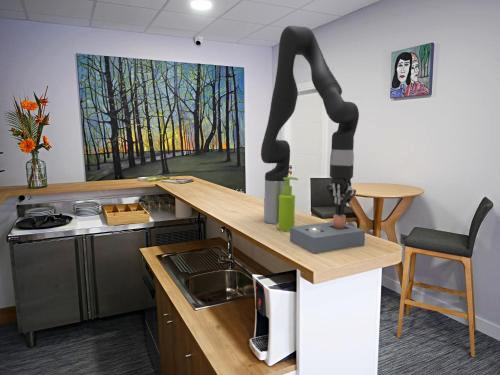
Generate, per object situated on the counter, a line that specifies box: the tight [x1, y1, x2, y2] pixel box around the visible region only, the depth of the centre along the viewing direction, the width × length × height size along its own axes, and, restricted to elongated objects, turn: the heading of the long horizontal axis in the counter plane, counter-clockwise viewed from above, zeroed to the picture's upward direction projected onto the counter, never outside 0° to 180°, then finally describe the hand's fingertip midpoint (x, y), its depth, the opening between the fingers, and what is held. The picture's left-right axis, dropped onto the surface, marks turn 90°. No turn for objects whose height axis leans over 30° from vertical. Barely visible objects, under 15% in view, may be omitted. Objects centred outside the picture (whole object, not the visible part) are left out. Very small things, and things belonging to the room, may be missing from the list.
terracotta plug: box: [332, 213, 347, 230], centre depth 126 cm, size 4×4×5 cm
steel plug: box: [308, 226, 321, 233], centre depth 122 cm, size 4×4×5 cm
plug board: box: [289, 221, 366, 255], centre depth 124 cm, size 14×20×5 cm
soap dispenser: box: [278, 176, 299, 233], centre depth 139 cm, size 6×7×20 cm
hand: (339, 214), depth 125 cm, fingers closed
